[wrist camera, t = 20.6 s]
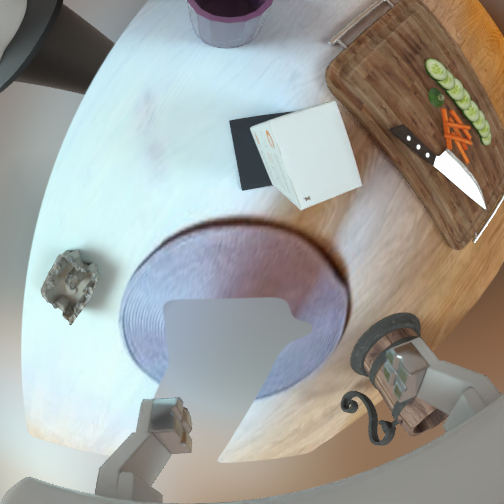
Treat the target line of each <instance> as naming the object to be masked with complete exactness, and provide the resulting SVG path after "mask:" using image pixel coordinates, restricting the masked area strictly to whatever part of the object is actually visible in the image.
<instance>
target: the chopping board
mask: <svg viewBox="0 0 504 504" xmlns="http://www.w3.org/2000/svg"><path fill="white" fill-rule="evenodd" d="M385 1H386V2H387V3H388V4H389V5H390V6H391V7H392V8H391V9H389V10H388V11H387V12H386V13H385V14H383V15H382V16H381V17H380V18H379V19H378V20H376V21H375V22H374V23H373V24H372V25H371V26H369V27H368V28H367V29H366V30H365V31H364V32H363V33H362V34H360V35H359V36H358V37H357V38H356V39H355V40H354V41H353V42H352V43H351V44H349V45H348V46H346V45H345V44H344V43H343V42H342V41H341V40H340V39H341V38H342V37H343V36H344V35H345V34H346V33H347V32H348V31H350V30H351V29H352V28H353V27H354V26H355V25H357V24H358V23H359V22H360V21H361V20H362V19H364V18H365V17H366V16H367V15H368V14H370V13H371V12H372V11H373V10H375V9H376V8H377V7H378V6H379V5H381V4H382V3H383V2H385ZM336 42H338V43H339V44H340V45H341V46H342V47H343V48H344V50H343V51H342V52H341V53H340V54H339V55H338V56H337V57H336V58H335V59H334V60H332V61H331V62H330V64H329V66H328V67H327V69H326V75H325V79H326V83H327V86H328V88H329V90H330V91H331V92H332V94H333V95H334V96H335V97H336V98H337V99H338V100H339V101H340V102H341V103H342V104H343V105H344V106H345V107H346V108H347V109H348V110H349V112H350V113H351V114H352V115H353V116H354V117H355V118H356V119H357V120H358V121H359V122H360V123H361V125H362V126H363V127H364V128H365V129H366V130H367V131H368V133H369V134H370V135H371V136H372V137H373V138H374V140H375V141H376V142H377V143H378V144H379V145H380V147H381V148H382V149H383V150H384V152H385V153H386V154H387V155H388V157H389V158H390V159H391V160H392V162H393V163H394V164H395V166H396V167H397V168H398V169H399V171H400V172H401V173H402V175H403V176H404V178H405V179H406V180H407V182H408V183H409V184H410V186H411V187H412V189H413V190H414V191H415V193H416V194H417V196H418V197H419V199H420V200H421V202H422V203H423V205H424V206H425V208H426V209H427V211H428V212H429V214H430V215H431V217H432V219H433V220H434V222H435V223H436V225H437V227H438V228H439V230H440V232H441V233H442V235H443V237H444V238H445V240H446V242H447V244H448V245H449V246H450V247H452V248H453V249H455V250H460V249H462V248H464V247H465V246H466V245H467V244H468V242H469V241H470V240H471V238H472V237H473V235H475V237H474V239H473V240H472V242H473V243H475V242H476V241H477V240H478V238H479V237H480V235H481V234H482V232H483V231H484V229H485V228H486V226H487V225H488V223H489V222H490V220H491V219H492V217H493V215H494V214H495V212H496V211H497V209H498V207H499V206H500V204H501V202H502V201H503V199H504V192H503V194H502V196H501V197H500V199H499V201H498V202H497V204H496V206H495V207H494V209H493V210H492V212H491V214H490V215H489V217H488V218H487V220H486V221H485V223H484V224H483V226H482V227H481V229H480V230H479V232H478V233H476V231H477V230H478V228H479V227H480V225H481V224H482V222H483V221H484V219H485V218H486V216H487V215H488V213H489V212H490V210H491V208H492V207H493V205H494V204H495V202H496V200H497V199H498V197H499V195H500V194H501V192H502V190H503V188H504V129H503V127H502V124H501V122H500V120H499V118H498V116H497V113H496V111H495V109H494V107H493V105H492V103H491V101H490V99H489V97H488V95H487V93H486V91H485V90H484V88H483V86H482V84H481V82H480V81H479V79H478V77H477V75H476V74H475V72H474V70H473V69H472V67H471V65H470V64H469V62H468V61H467V59H466V58H465V56H464V54H463V53H462V51H461V50H460V49H459V47H458V46H457V44H456V43H455V41H454V40H453V39H452V37H451V36H450V34H449V33H448V32H447V30H446V29H445V28H444V27H443V25H442V24H441V23H440V21H439V20H438V19H437V18H436V17H435V15H434V14H433V13H432V12H431V11H430V9H429V8H428V7H427V6H426V5H425V4H424V3H423V2H422V1H420V0H400V1H399V2H398V3H397V4H395V5H393V4H392V3H391V2H390V1H389V0H377V1H376V2H375V3H373V4H372V5H371V6H370V7H368V8H367V9H366V10H365V11H363V12H362V13H361V14H360V15H358V16H357V17H356V18H355V19H354V20H352V21H351V22H350V23H349V24H348V25H347V26H345V27H344V28H343V29H342V30H341V31H340V32H338V33H337V34H336V35H335V36H334V37H333V38H332V39H331V40H329V41H328V43H329V44H330V45H331V46H333V45H334V44H335V43H336Z"/></svg>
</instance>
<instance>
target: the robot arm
mask: <svg viewBox="0 0 504 504" xmlns="http://www.w3.org/2000/svg"><path fill="white" fill-rule="evenodd" d="M26 8H27V0H0V60H1V57H2V55H3V52H4V50H5V49H6V47H7V46H8V44H9V43H10V41H11V40H12V38H13V37H14V35H15V34H16V32H17V30H18V28H19V26H20V24H21V22H22V20H23V18H24V15H25V12H26ZM386 358H387V360H386V362H385V363H384V366H383V373H384V377H385V379H386V381H387V383H388V384H389V385H391V386H394V388H393V393H394V395H395V396H396V398H397V400H398V401H399V403H401V402H403V401H406V400H408V399H410V398H413V397H415V396H417V397H418V398H420V399H422V400H423V401H425V402H427V403H428V404H430V405H432V406H434V407H436V408H437V409H439V410H441V411H443V412H444V413H446V414H448V415H449V416H448V418H447V419H446V421H445V422H444V425H443V427H444V429H445V431H446V433H445V434H444V435H442V436H440V437H438V438H437V439H435V440H433V441H431V442H429V443H427V444H426V445H424V446H422V447H420V448H418V449H416V450H414V451H412V452H410V453H408V454H406V455H403V456H401V457H399V458H397V459H395V460H392V461H390V462H388V463H385V464H383V465H381V466H378V467H376V468H373V469H371V470H368V471H365V472H362V473H360V474H357V475H354V476H351V477H348V478H346V479H342V480H339V481H336V482H332V483H329V484H325V485H322V486H318V487H314V488H310V489H306V490H302V491H297V492H293V493H288V494H283V495H277V496H272V497H266V498H259V499H252V500H243V501H234V502H222V503H198V504H504V393H503V394H502V395H501V394H500V392H499V391H498V390H497V388H496V387H495V386H494V385H493V383H492V382H491V381H490V380H489V379H488V378H487V376H486V375H483V374H480V373H477V372H474V371H472V370H469V369H466V368H463V367H461V366H458V365H455V364H452V363H450V362H447V361H444V360H442V361H440V360H439V359H438V358H437V356H436V355H435V354H434V353H433V352H432V350H431V349H430V348H429V347H428V346H427V345H426V343H425V342H424V341H423V340H422V339H421V338H419V337H418V338H416V339H413V340H411V341H408V342H405V343H403V344H400V345H398V346H395V347H393V348H390V349H388V350H387V351H386ZM191 430H192V421H191V416H190V413H189V411H188V409H187V408H185V407H183V401H182V399H181V398H180V397H178V398H161V399H143V401H142V402H141V406H140V411H139V417H138V422H137V428H136V432H134V433H132V434H131V435H130V436H129V437H128V438H127V439H126V440H125V441H124V442H123V443H122V445H121V446H120V447H119V448H118V449H117V450H116V451H115V452H114V453H113V454H112V455H111V456H110V457H109V458H108V460H107V461H106V462H105V463H104V464H103V465H102V466H101V467H100V468H99V473H98V478H97V483H96V489H95V495H94V494H89V493H84V492H80V491H75V490H72V489H68V488H64V487H60V486H57V485H53V484H50V483H47V482H44V481H41V480H38V479H35V478H31V477H26V478H24V479H22V480H21V481H19V482H18V483H17V484H16V485H14V486H13V487H12V488H11V489H9V490H8V491H7V492H6V494H5V495H4V497H3V499H2V502H1V504H177V503H162V494H161V493H160V492H158V491H157V490H155V489H154V488H152V487H151V486H152V484H153V483H154V481H155V480H156V478H157V477H158V475H159V474H160V472H161V471H162V469H163V468H164V466H165V465H166V463H167V462H168V460H169V458H170V457H171V454H178V453H191V452H192V439H191V437H190V436H189V433H190V432H191Z"/></svg>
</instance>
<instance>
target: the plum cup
mask: <svg viewBox="0 0 504 504" xmlns="http://www.w3.org/2000/svg"><path fill="white" fill-rule="evenodd" d="M187 2H188V7H189V11H190V16H191V20H192V25H193V29H194V31H195V33H196V34H197V36H198V37H199V38H200V39H201V40H202V41H203V42H205V43H207V44H209V45H211V46H214V47H218V48H234V47H238V46H242V45H244V44H246V43H248V42H249V41H251V40H252V39H253V38H254V37H255V36H256V35H257V34H258V32H259V31H260V29H261V27H262V24H263V22H264V20H265V18H266V16H267V13H268V11H269V9H270V7H271V5H272V2H273V0H187Z"/></svg>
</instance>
